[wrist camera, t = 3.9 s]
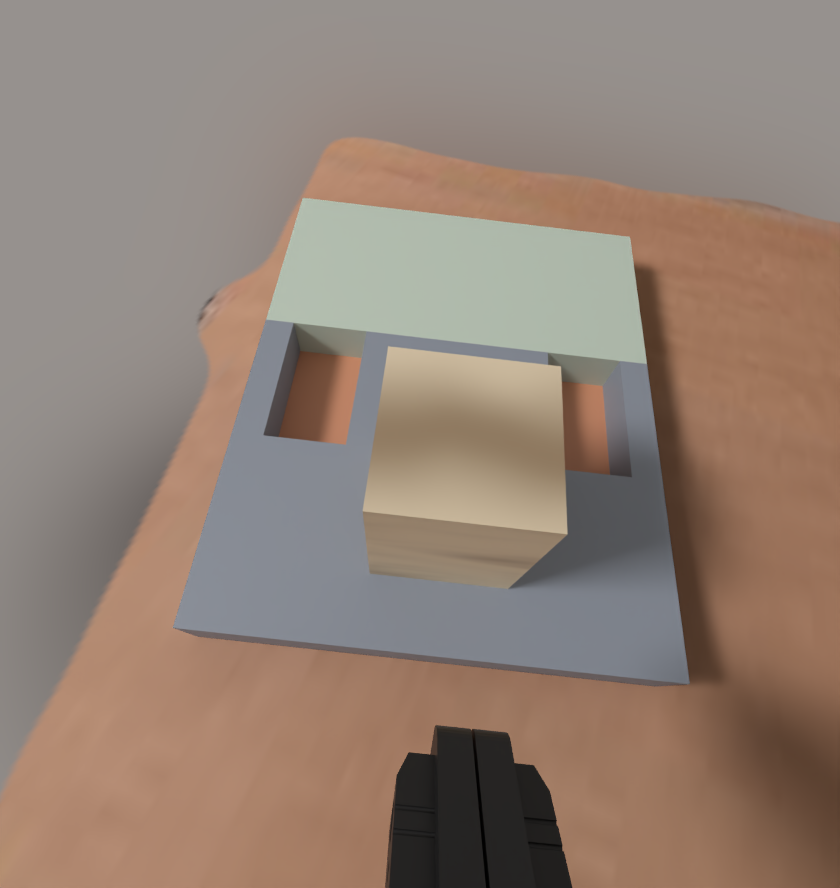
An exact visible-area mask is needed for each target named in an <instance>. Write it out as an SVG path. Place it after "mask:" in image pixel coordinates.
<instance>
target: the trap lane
mask: <svg viewBox="0 0 840 888" xmlns="http://www.w3.org/2000/svg"><path fill="white" fill-rule="evenodd" d="M388 346H390V347H399V348H407V349H416V350H424V351H433V352H442V353H450V354H459V355H467V356H476V357H484V358H493V359H502V360H510V361H519V362H527V363H536V364H544V365H553V366H561V377H562V403H563V429H564V455H565V481H566V507H567V533H568V534H567V535H566V536H565V537H564V538H563V539H562V540H561V541H560V542H559V543H558V544H556V545H555V546H554V547H553V548H552V549H551V550H550V551H549V552H548V553H547V554H546V555H544V556H543V557H542V558H541V559H540V560H539V561H538V562H537V563H536V564H535V565H534V566H532V567H531V568H530V569H529V570H528V571H527V572H526V573H525V574H524V575H523V576H522V577H520V578H519V579H518V580H517V581H516V582H515V583H514V584H513V585H512V586H511V587H510V588H508V589H504V588H495V587H486V586H477V585H468V584H459V583H450V582H441V581H432V580H423V579H414V578H405V577H396V576H387V575H378V574H370V573H369V564H368V555H367V546H366V537H365V529H364V520H363V505H364V499H365V492H366V486H367V479H368V473H369V467H370V460H371V454H372V447H373V441H374V434H375V428H376V422H377V415H378V409H379V402H380V396H381V389H382V383H383V377H384V370H385V364H386V357H387V351H388ZM173 628H175V629H178V630H180V631H183V632H186V633H189V634H192V635H195V636H198V637H207V638H216V639H225V640H234V641H244V642H253V643H262V644H271V645H280V646H289V647H299V648H308V649H317V650H326V651H335V652H345V653H354V654H363V655H372V656H381V657H390V658H400V659H409V660H418V661H427V662H436V663H445V664H455V665H464V666H473V667H482V668H491V669H501V670H510V671H519V672H528V673H537V674H546V675H556V676H565V677H574V678H583V679H592V680H602V681H611V682H620V683H629V684H638V685H647V686H668V685H685V684H690V682H689V675H688V667H687V660H686V652H685V645H684V637H683V630H682V622H681V615H680V607H679V600H678V593H677V585H676V578H675V570H674V563H673V555H672V548H671V540H670V533H669V525H668V518H667V510H666V503H665V495H664V488H663V480H662V473H661V465H660V458H659V450H658V443H657V435H656V428H655V420H654V413H653V406H652V398H651V391H650V383H649V376H648V368H647V361H646V353H645V346H644V338H643V331H642V323H641V316H640V308H639V301H638V293H637V286H636V278H635V271H634V263H633V256H632V248H631V241H630V237H626V236H617V235H609V234H601V233H592V232H584V231H576V230H567V229H559V228H551V227H542V226H534V225H526V224H517V223H509V222H501V221H492V220H484V219H475V218H467V217H459V216H450V215H442V214H434V213H425V212H417V211H409V210H400V209H392V208H384V207H375V206H367V205H359V204H350V203H342V202H334V201H325V200H317V199H309V198H303V199H302V203H301V206H300V209H299V213H298V216H297V219H296V222H295V226H294V229H293V232H292V236H291V239H290V242H289V246H288V249H287V252H286V256H285V259H284V262H283V265H282V269H281V272H280V275H279V279H278V282H277V285H276V289H275V292H274V295H273V299H272V302H271V305H270V308H269V312H268V315H267V318H266V322H265V325H264V328H263V332H262V335H261V338H260V342H259V345H258V348H257V351H256V355H255V358H254V361H253V365H252V368H251V371H250V375H249V378H248V381H247V384H246V388H245V391H244V394H243V398H242V401H241V404H240V408H239V411H238V414H237V418H236V421H235V424H234V427H233V431H232V434H231V437H230V441H229V444H228V447H227V451H226V454H225V457H224V461H223V464H222V467H221V470H220V474H219V477H218V480H217V484H216V487H215V490H214V494H213V497H212V500H211V504H210V507H209V510H208V513H207V517H206V520H205V523H204V527H203V530H202V533H201V537H200V540H199V543H198V547H197V550H196V553H195V556H194V560H193V563H192V566H191V570H190V573H189V576H188V580H187V583H186V586H185V589H184V593H183V596H182V599H181V603H180V606H179V609H178V613H177V616H176V619H175V623H174V626H173Z"/></svg>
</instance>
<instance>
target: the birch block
mask: <svg viewBox="0 0 840 888" xmlns="http://www.w3.org/2000/svg"><path fill="white" fill-rule="evenodd" d="M363 520H364V529H365V537H366V546H367V555H368V564H369V573H370V574H378V575H387V576H396V577H405V578H414V579H423V580H432V581H441V582H450V583H459V584H468V585H477V586H486V587H495V588H504V589H508V588H510V587H511V586H512V585H513V584H514V583H515V582H516V581H517V580H518V579H519V578H520V577H522V576H523V575H524V574H525V573H526V572H527V571H528V570H529V569H530V568H531V567H532V566H534V565H535V564H536V563H537V562H538V561H539V560H540V559H541V558H542V557H543V556H544V555H546V554H547V553H548V552H549V551H550V550H551V549H552V548H553V547H554V546H555V545H556V544H558V543H559V542H560V541H561V540H562V539H563V538H564V537H565V536H566V535H567V534H568V533H567V507H566V481H565V455H564V429H563V403H562V377H561V366H553V365H544V364H536V363H527V362H519V361H510V360H502V359H493V358H484V357H476V356H467V355H459V354H450V353H442V352H433V351H424V350H416V349H407V348H399V347H390V346H388V351H387V357H386V364H385V370H384V377H383V383H382V389H381V396H380V402H379V409H378V415H377V422H376V428H375V434H374V441H373V447H372V454H371V460H370V467H369V473H368V479H367V486H366V492H365V499H364V505H363Z"/></svg>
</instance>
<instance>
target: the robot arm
mask: <svg viewBox="0 0 840 888" xmlns="http://www.w3.org/2000/svg"><path fill="white" fill-rule="evenodd" d="M556 821H557V820H556V816H555V812H554V807H553V803H552V799H551V795H550V791H549V789H548V788H547V786H546V784H545V783H544V781H543V780H542V778H541V776H540V775H539V773H538V771H537V770H536V768H535V767H534V765H526V764H516V763H514V758H513V753H512V747H511V741H510V737H509V735H508V733H506V732H496V731H487V730H477V729H472V731H471V729H466V728H457V727H447V726H438V725H436V726H435V729H434V735H433V741H432V748H431V754H430V755H429V754H419V753H410V752H409V753H408V755H407V757H406V759H405V761H404V763H403V764H402V766H401V768H400V770H399V772H398V774H397V778H396V785H395V793H394V800H393V808H392V815H391V823H390V830H389V844H388V857H387V870H386V883H385V888H572V884H571V880H570V876H569V872H568V867H567V863H566V859H565V854H564V852H563V851H562V842H561V837H560V833H559V829H558V826H557V825H556Z"/></svg>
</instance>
